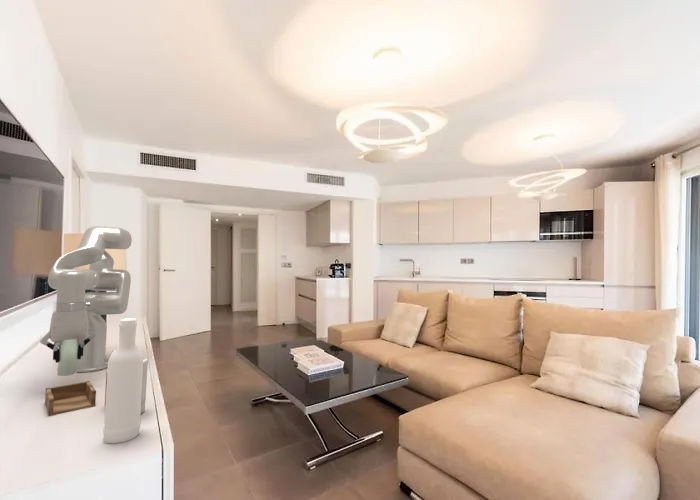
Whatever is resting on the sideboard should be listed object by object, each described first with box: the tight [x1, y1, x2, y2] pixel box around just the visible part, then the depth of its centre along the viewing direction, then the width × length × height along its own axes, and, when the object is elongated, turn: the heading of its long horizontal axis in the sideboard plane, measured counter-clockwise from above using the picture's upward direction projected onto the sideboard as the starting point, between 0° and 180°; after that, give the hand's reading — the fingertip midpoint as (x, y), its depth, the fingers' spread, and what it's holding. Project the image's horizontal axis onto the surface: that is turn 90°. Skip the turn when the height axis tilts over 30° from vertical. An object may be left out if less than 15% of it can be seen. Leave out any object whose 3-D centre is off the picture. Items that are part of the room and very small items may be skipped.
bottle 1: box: [57, 339, 79, 377], centre depth 118 cm, size 5×5×17 cm
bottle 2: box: [102, 317, 144, 444], centre depth 90 cm, size 8×8×30 cm
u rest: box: [44, 380, 97, 417], centre depth 107 cm, size 12×11×5 cm
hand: (68, 359), depth 118 cm, fingers closed on bottle 1, 5 cm apart
